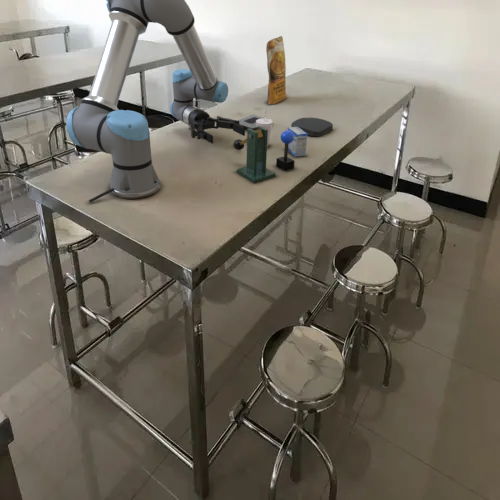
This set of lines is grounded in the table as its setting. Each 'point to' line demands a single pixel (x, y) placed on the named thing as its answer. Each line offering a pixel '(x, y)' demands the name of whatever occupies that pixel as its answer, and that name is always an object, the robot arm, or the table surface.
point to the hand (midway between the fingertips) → (228, 135)
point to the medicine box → (298, 142)
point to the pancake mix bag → (276, 70)
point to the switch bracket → (256, 157)
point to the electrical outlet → (249, 121)
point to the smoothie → (265, 125)
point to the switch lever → (245, 141)
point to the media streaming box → (313, 126)
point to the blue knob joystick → (285, 153)
